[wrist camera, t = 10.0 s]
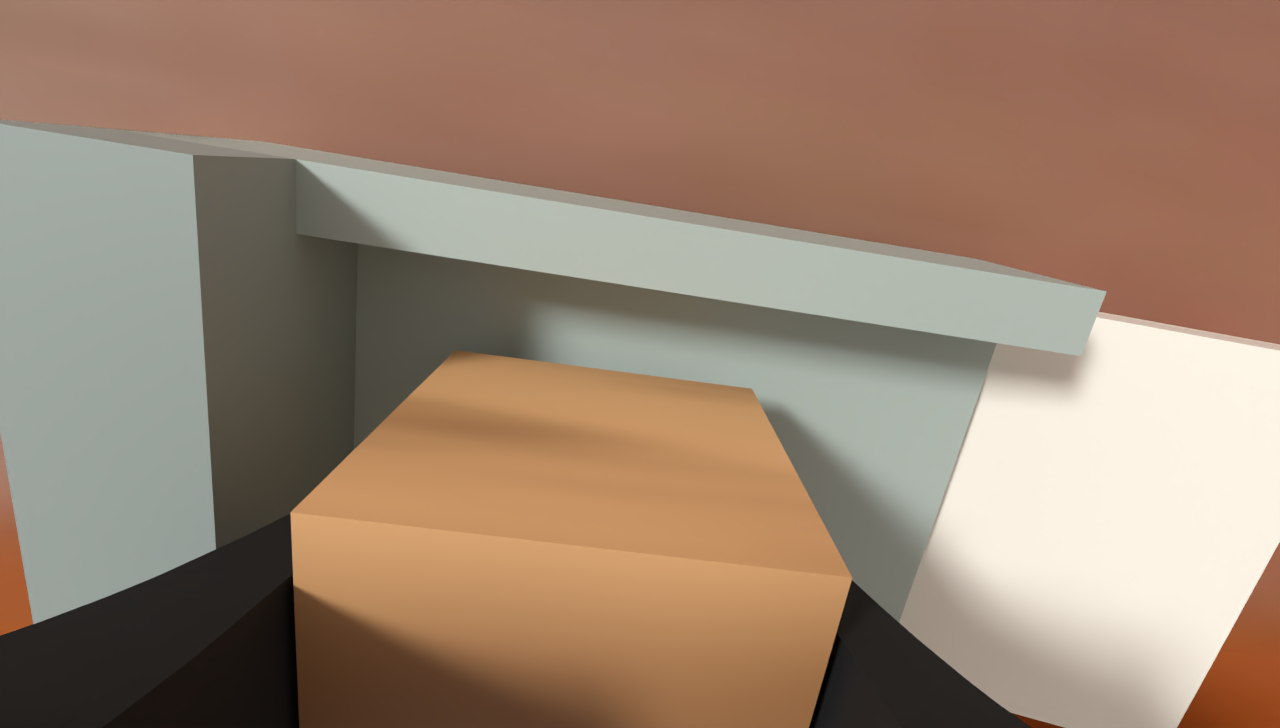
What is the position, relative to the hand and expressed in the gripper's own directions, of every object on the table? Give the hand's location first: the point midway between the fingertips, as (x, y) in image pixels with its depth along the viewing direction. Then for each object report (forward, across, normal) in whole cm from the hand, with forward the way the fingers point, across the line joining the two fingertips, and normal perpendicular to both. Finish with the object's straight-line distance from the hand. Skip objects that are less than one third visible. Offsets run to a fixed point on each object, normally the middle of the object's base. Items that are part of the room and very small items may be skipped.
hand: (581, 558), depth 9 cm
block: (+2, 0, 0) cm, 2 cm away
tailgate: (+4, -7, 0) cm, 8 cm away
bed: (+5, 0, 0) cm, 5 cm away
